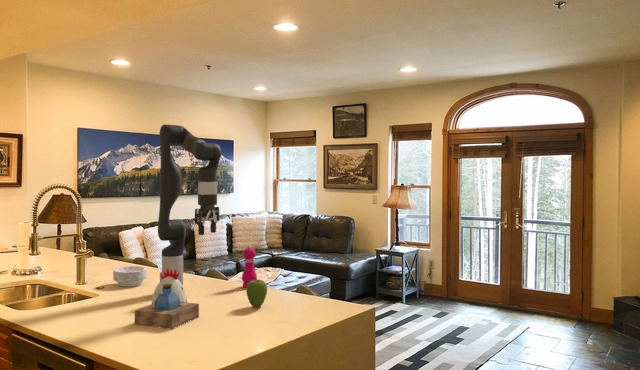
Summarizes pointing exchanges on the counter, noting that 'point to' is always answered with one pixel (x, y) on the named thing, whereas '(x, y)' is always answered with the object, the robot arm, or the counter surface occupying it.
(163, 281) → the kitchen timer
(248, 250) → the pepper mill
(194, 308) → the holder block
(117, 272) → the paper bowls
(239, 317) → the counter surface
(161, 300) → the perfume bottle
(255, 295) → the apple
